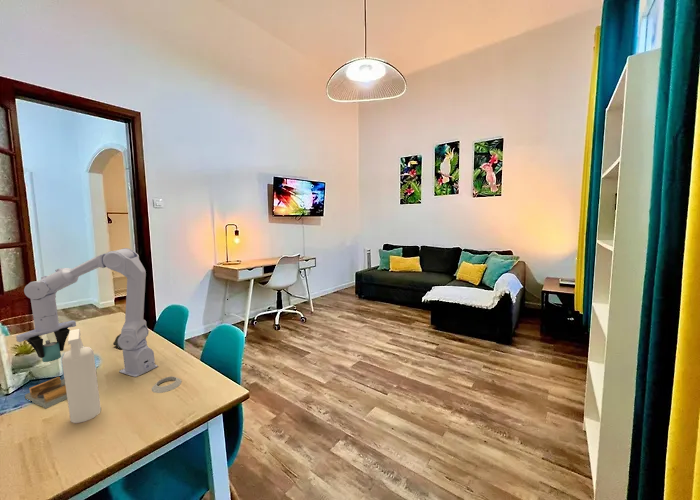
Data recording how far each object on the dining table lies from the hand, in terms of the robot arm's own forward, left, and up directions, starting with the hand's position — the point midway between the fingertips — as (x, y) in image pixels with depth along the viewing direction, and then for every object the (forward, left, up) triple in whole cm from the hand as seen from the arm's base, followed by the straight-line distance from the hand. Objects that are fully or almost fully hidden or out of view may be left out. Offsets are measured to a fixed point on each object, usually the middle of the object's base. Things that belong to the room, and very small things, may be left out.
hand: (51, 353), depth 102 cm
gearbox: (-12, +4, -9) cm, 16 cm away
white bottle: (-32, +7, -10) cm, 34 cm away
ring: (-40, -12, -10) cm, 43 cm away
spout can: (0, 0, -2) cm, 2 cm away
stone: (+9, -27, -10) cm, 30 cm away
